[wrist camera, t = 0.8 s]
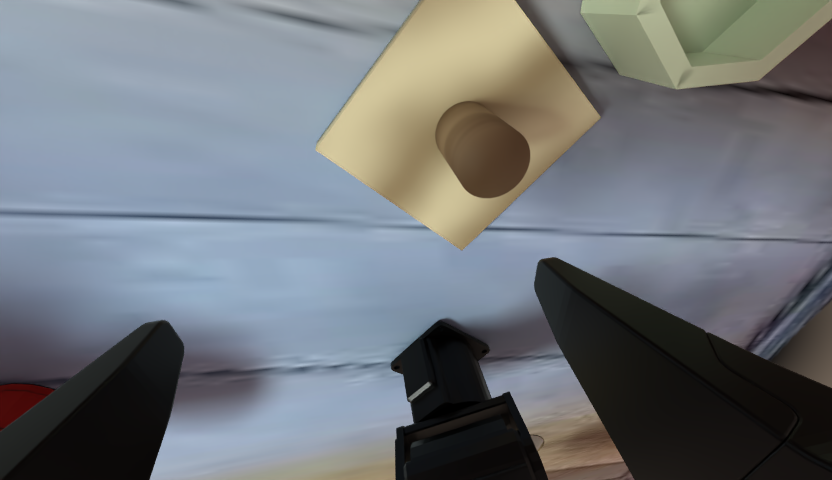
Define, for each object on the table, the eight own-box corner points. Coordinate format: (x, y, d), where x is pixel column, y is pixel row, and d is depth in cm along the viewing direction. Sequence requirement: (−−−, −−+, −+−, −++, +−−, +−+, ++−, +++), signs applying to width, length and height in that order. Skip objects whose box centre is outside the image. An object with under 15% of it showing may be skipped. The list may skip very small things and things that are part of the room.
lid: (592, 113, 20) (660, 143, 15) (458, 243, 23) (483, 296, 19) (464, -59, 14) (514, -85, 10) (316, 144, 18) (307, 188, 14)
